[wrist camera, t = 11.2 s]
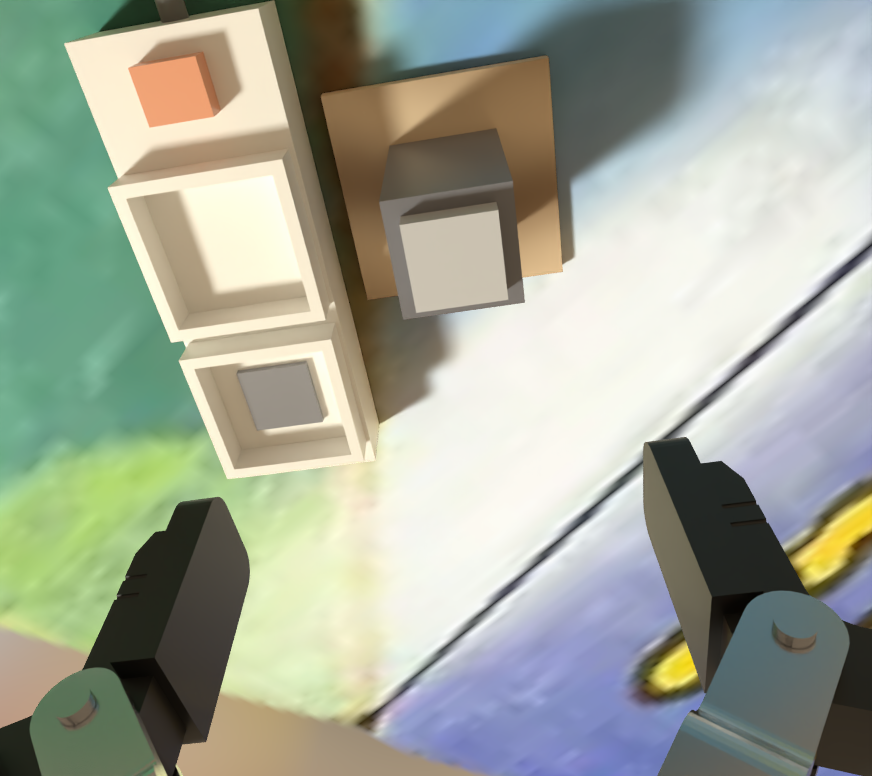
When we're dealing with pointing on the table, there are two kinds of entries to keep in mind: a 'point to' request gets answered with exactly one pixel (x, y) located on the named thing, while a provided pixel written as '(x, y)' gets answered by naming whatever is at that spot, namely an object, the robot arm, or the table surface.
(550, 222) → the coaster
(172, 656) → the robot arm
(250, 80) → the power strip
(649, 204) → the table surface
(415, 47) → the table surface
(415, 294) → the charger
